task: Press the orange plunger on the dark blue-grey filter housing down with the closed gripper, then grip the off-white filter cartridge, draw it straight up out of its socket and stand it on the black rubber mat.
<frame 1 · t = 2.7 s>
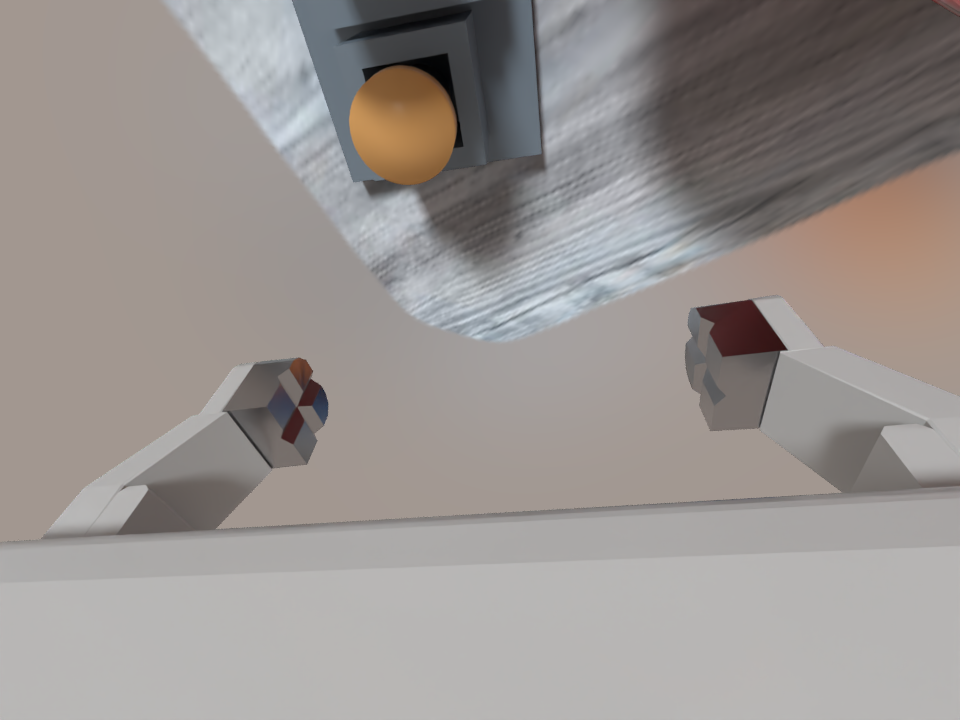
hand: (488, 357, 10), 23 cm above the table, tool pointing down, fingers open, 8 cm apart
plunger: (413, 113, 22), point 7 cm above the table, slide at 0.0 cm
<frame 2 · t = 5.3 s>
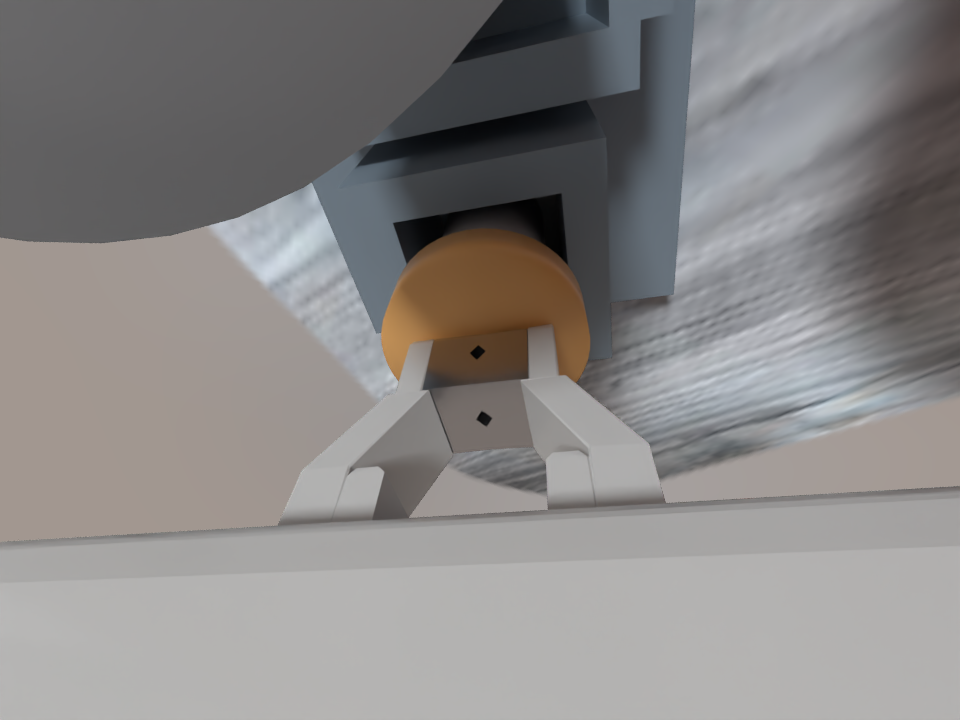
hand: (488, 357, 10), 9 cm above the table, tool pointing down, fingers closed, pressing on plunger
filter housing: (472, 45, 14), on the table
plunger: (490, 276, 12), point 6 cm above the table, slide at 0.9 cm, touching gripper
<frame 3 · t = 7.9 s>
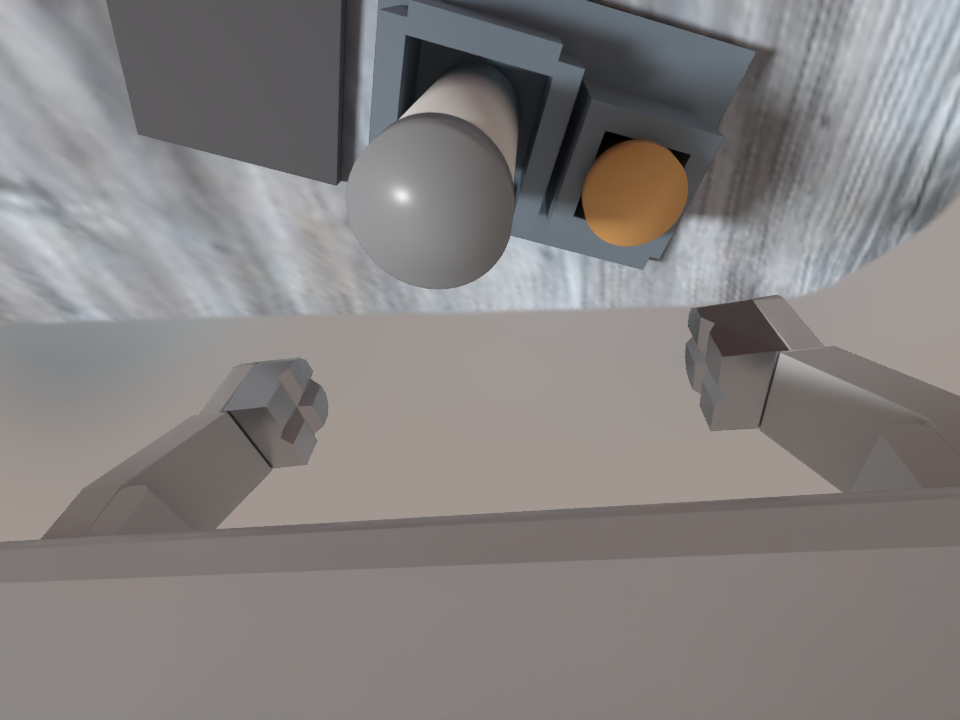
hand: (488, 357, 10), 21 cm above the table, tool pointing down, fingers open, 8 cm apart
cartridge: (473, 116, 25), point 1 cm above the table, touching filter housing
filter housing: (536, 127, 26), on the table
mat: (233, 43, 25), on the table
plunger: (624, 176, 23), point 5 cm above the table, slide at 2.1 cm
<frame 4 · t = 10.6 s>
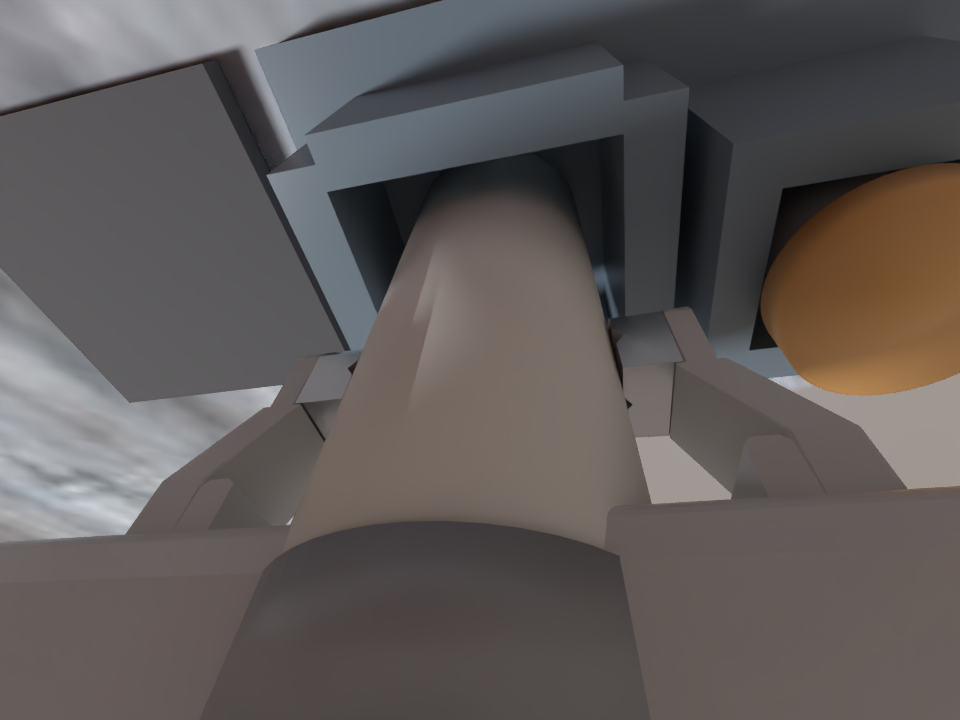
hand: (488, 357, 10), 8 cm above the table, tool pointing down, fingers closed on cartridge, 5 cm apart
cartridge: (499, 228, 15), point 2 cm above the table, touching filter housing, gripper
filter housing: (603, 192, 15), on the table
mat: (168, 268, 18), on the table
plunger: (831, 235, 11), point 5 cm above the table, slide at 2.1 cm
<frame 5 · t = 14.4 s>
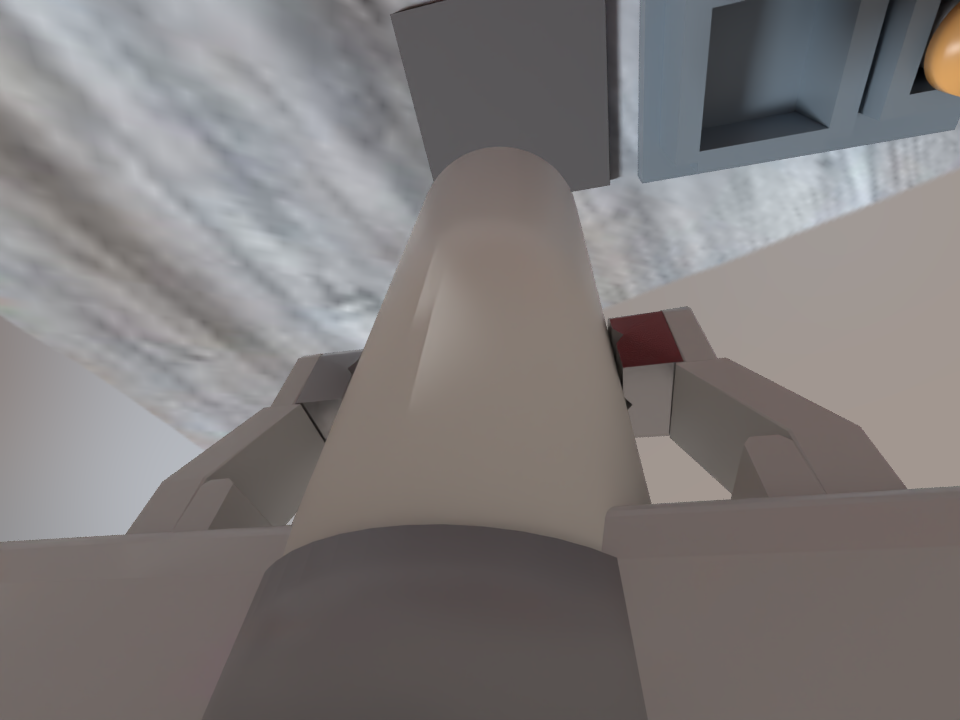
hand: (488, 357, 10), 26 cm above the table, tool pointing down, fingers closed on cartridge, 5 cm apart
cartridge: (499, 228, 15), point 19 cm above the table, touching gripper
filter housing: (800, 43, 27), on the table
mat: (510, 104, 30), on the table
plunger: (953, 33, 22), point 5 cm above the table, slide at 2.1 cm
when the fingers open (9 cm above the table, at t = 18.1 s): cartridge drops 1 cm, resting on mat.
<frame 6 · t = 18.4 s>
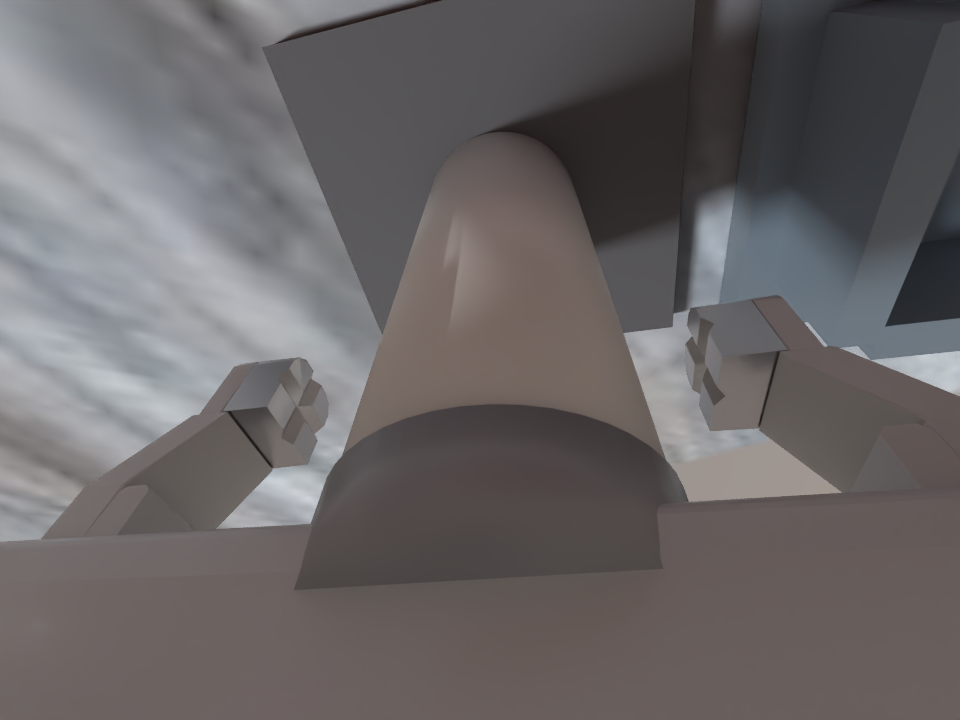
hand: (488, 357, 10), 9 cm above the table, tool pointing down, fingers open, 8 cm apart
cartridge: (501, 209, 16), point 1 cm above the table, touching mat
mat: (501, 201, 17), on the table
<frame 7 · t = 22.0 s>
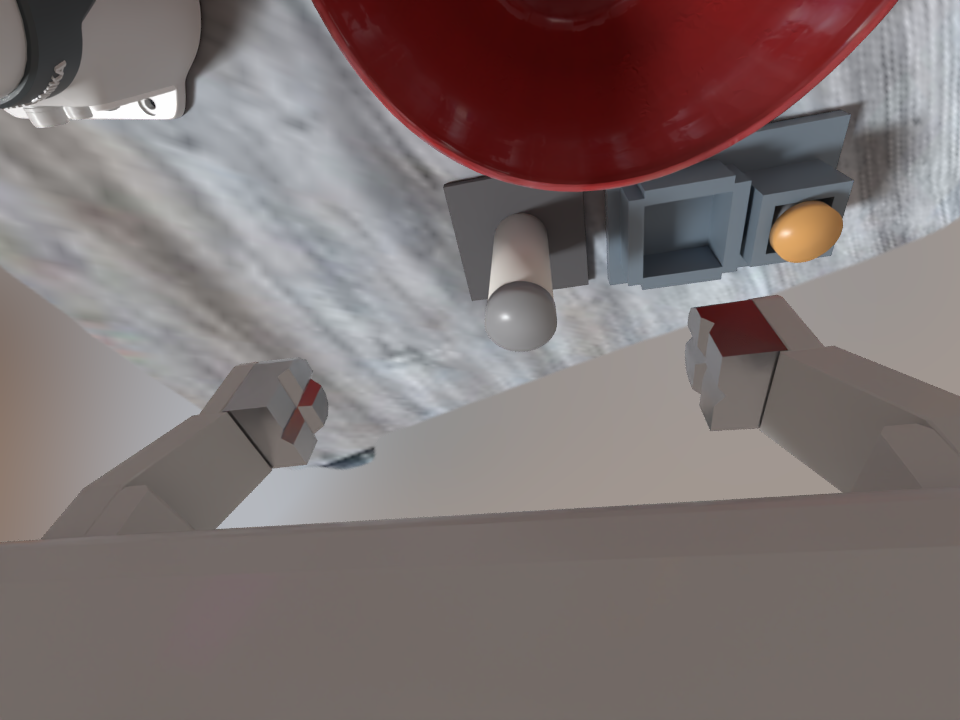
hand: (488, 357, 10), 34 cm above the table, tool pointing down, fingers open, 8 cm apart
cartridge: (520, 238, 43), point 1 cm above the table, touching mat
filter housing: (709, 204, 41), on the table
mat: (520, 235, 44), on the table
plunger: (789, 218, 37), point 5 cm above the table, slide at 2.1 cm
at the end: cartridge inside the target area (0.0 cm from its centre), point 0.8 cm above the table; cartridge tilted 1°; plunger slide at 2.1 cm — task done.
